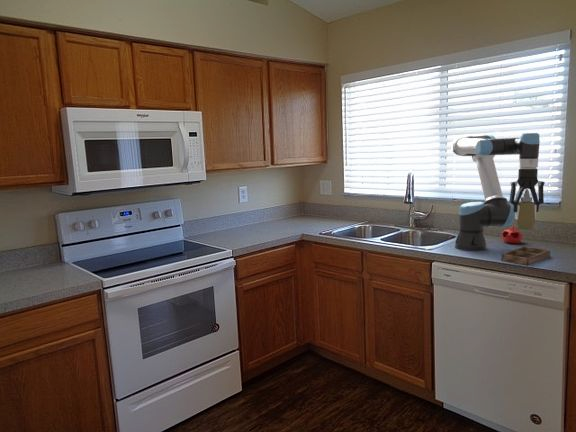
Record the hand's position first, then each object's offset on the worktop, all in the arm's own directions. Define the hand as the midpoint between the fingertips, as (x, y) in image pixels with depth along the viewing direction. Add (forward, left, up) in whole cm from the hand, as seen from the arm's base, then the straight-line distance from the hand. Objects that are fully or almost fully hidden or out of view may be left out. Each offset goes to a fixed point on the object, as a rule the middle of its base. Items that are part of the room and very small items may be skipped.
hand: (525, 219), depth 200 cm
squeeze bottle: (0, 0, -5) cm, 5 cm away
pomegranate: (-20, +31, -19) cm, 42 cm away
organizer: (0, +2, -19) cm, 19 cm away
